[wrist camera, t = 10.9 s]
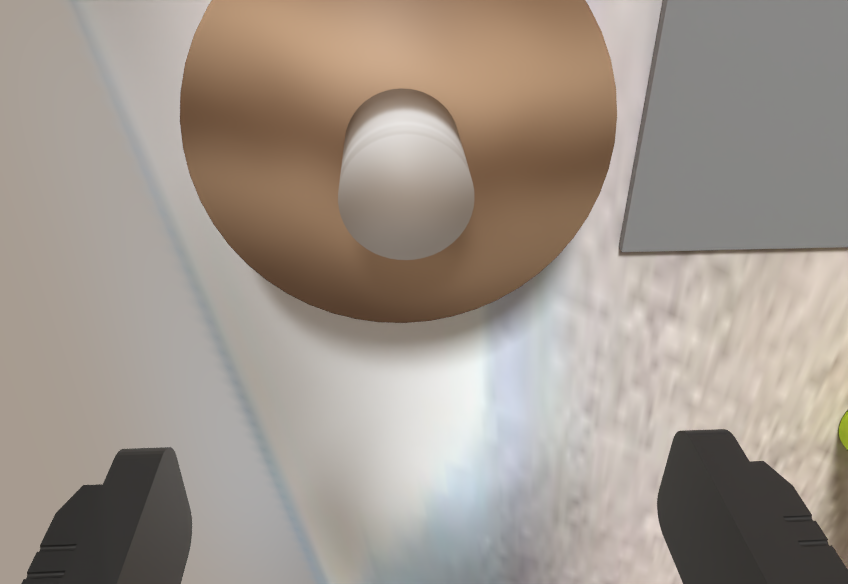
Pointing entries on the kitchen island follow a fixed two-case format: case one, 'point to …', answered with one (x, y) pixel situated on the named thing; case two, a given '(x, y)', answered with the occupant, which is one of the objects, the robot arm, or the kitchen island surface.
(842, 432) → the soap dispenser
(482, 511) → the kitchen island surface
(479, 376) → the kitchen island surface
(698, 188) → the mat
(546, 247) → the lid
